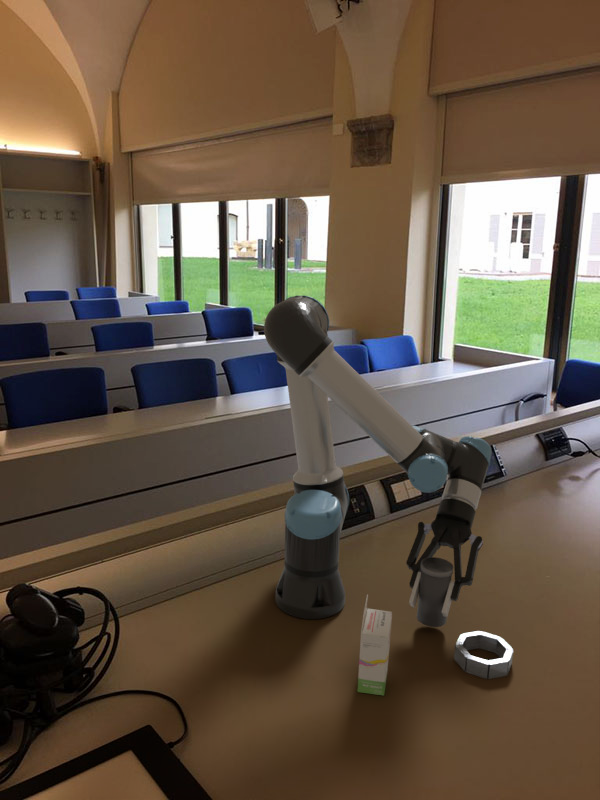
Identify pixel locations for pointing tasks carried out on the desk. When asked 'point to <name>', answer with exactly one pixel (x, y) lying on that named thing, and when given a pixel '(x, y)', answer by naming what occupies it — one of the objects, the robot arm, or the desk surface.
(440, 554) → the desk surface
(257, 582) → the desk surface
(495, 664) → the collar
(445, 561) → the tube
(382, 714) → the desk surface
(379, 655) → the ink box
